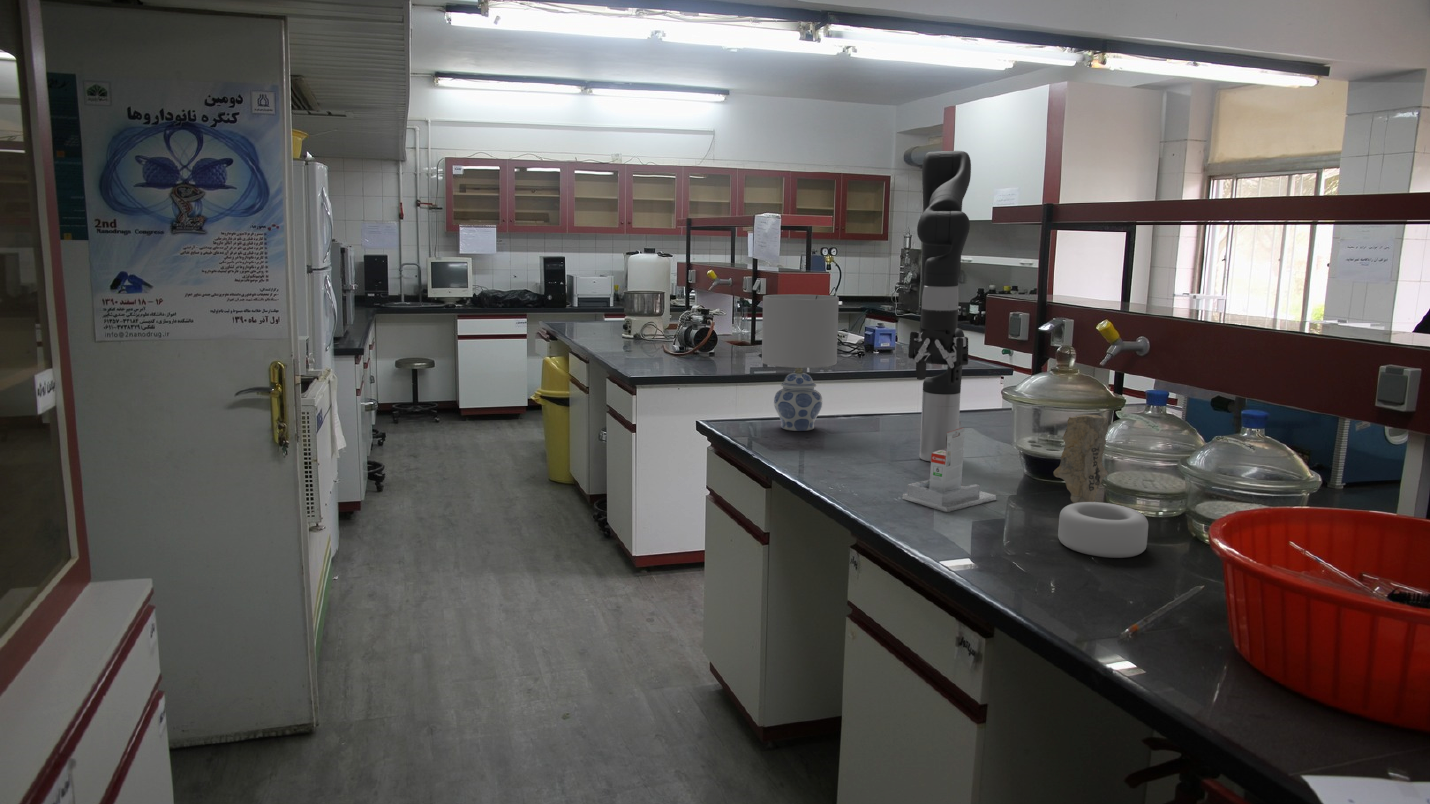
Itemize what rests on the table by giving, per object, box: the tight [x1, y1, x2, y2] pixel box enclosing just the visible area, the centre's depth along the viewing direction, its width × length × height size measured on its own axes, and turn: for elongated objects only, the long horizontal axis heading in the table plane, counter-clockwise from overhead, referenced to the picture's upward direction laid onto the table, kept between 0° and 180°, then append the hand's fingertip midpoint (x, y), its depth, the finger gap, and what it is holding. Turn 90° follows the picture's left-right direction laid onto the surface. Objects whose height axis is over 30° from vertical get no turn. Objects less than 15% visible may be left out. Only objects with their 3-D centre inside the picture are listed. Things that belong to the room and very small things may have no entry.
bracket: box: [902, 479, 997, 513], centre depth 200 cm, size 16×12×4 cm
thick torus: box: [1057, 501, 1149, 559], centre depth 171 cm, size 15×15×7 cm
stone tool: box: [1053, 414, 1109, 504], centre depth 193 cm, size 12×6×20 cm, turn 96°
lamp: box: [761, 293, 840, 432], centre depth 270 cm, size 22×22×38 cm
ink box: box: [929, 426, 965, 492], centre depth 199 cm, size 4×8×15 cm, turn 138°
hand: (936, 382), depth 203 cm, fingers open, 8 cm apart
